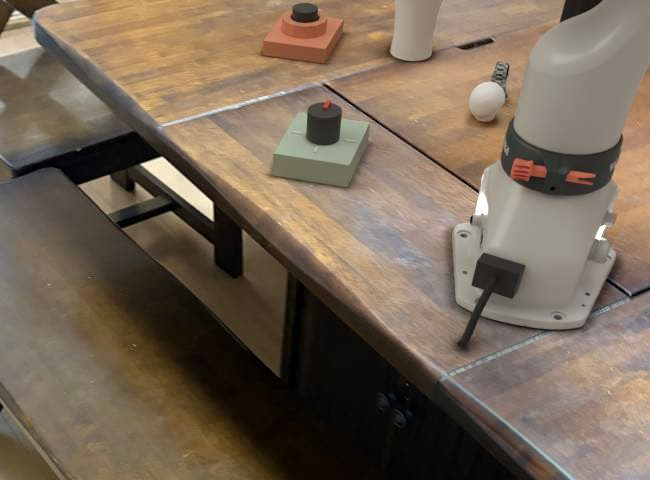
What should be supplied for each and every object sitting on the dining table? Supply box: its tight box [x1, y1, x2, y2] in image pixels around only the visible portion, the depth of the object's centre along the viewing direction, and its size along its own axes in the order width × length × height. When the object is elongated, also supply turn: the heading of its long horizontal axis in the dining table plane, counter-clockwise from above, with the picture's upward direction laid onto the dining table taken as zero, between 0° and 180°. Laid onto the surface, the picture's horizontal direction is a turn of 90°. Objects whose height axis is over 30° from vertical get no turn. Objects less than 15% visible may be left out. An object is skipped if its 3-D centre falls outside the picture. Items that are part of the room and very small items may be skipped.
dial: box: [306, 99, 343, 145], centre depth 112 cm, size 4×4×4 cm
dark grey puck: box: [291, 2, 319, 23], centre depth 136 cm, size 4×4×2 cm
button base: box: [262, 9, 345, 64], centre depth 138 cm, size 12×10×4 cm
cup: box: [389, 0, 443, 62], centre depth 132 cm, size 10×10×14 cm
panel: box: [272, 111, 371, 188], centre depth 115 cm, size 12×10×3 cm
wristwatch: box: [489, 60, 511, 99], centre depth 126 cm, size 3×5×5 cm
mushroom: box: [468, 81, 506, 123], centre depth 121 cm, size 5×5×5 cm
